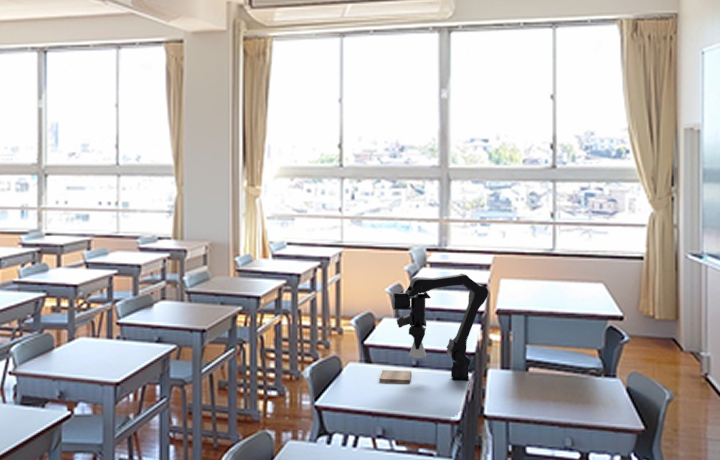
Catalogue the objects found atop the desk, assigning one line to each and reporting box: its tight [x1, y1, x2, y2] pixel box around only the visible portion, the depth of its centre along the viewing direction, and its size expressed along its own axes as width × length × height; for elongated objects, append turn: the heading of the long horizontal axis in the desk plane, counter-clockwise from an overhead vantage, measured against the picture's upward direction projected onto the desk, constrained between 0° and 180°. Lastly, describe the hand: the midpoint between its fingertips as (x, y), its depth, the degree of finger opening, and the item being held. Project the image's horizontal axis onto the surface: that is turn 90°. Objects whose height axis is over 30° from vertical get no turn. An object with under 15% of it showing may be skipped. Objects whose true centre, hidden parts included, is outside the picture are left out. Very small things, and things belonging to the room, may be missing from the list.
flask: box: [408, 341, 427, 359], centre depth 260 cm, size 7×7×10 cm
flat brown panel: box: [379, 369, 412, 384], centre depth 263 cm, size 12×12×2 cm
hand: (417, 347), depth 260 cm, fingers closed on flask, 5 cm apart
